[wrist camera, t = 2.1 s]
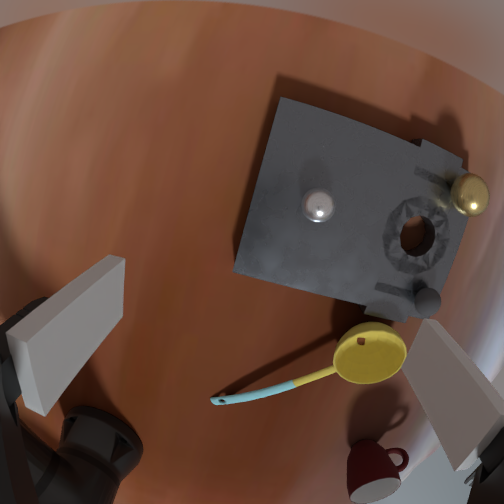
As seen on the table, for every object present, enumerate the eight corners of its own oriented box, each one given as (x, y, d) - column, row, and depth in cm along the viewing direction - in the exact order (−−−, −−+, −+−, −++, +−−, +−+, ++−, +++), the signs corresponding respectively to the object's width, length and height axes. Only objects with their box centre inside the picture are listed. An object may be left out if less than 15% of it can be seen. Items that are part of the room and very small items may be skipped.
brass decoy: (438, 204, 30) (460, 212, 25) (449, 165, 28) (472, 167, 24) (467, 217, 30) (490, 226, 26) (477, 180, 29) (502, 185, 24)
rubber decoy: (405, 305, 33) (416, 318, 30) (416, 280, 32) (429, 291, 29) (426, 310, 33) (438, 323, 30) (437, 286, 32) (450, 297, 29)
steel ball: (295, 213, 31) (299, 219, 28) (304, 182, 30) (309, 184, 27) (326, 222, 31) (333, 229, 28) (335, 191, 30) (343, 195, 27)
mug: (397, 418, 42) (416, 464, 32) (400, 444, 44) (416, 485, 34) (335, 441, 43) (344, 489, 33) (344, 464, 45) (353, 508, 35)
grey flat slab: (232, 272, 35) (230, 280, 33) (281, 92, 30) (283, 87, 27) (416, 318, 36) (424, 327, 34) (469, 168, 31) (481, 169, 28)
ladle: (407, 347, 37) (414, 378, 32) (237, 393, 47) (227, 421, 42) (390, 296, 34) (399, 326, 29) (206, 354, 44) (193, 383, 39)
